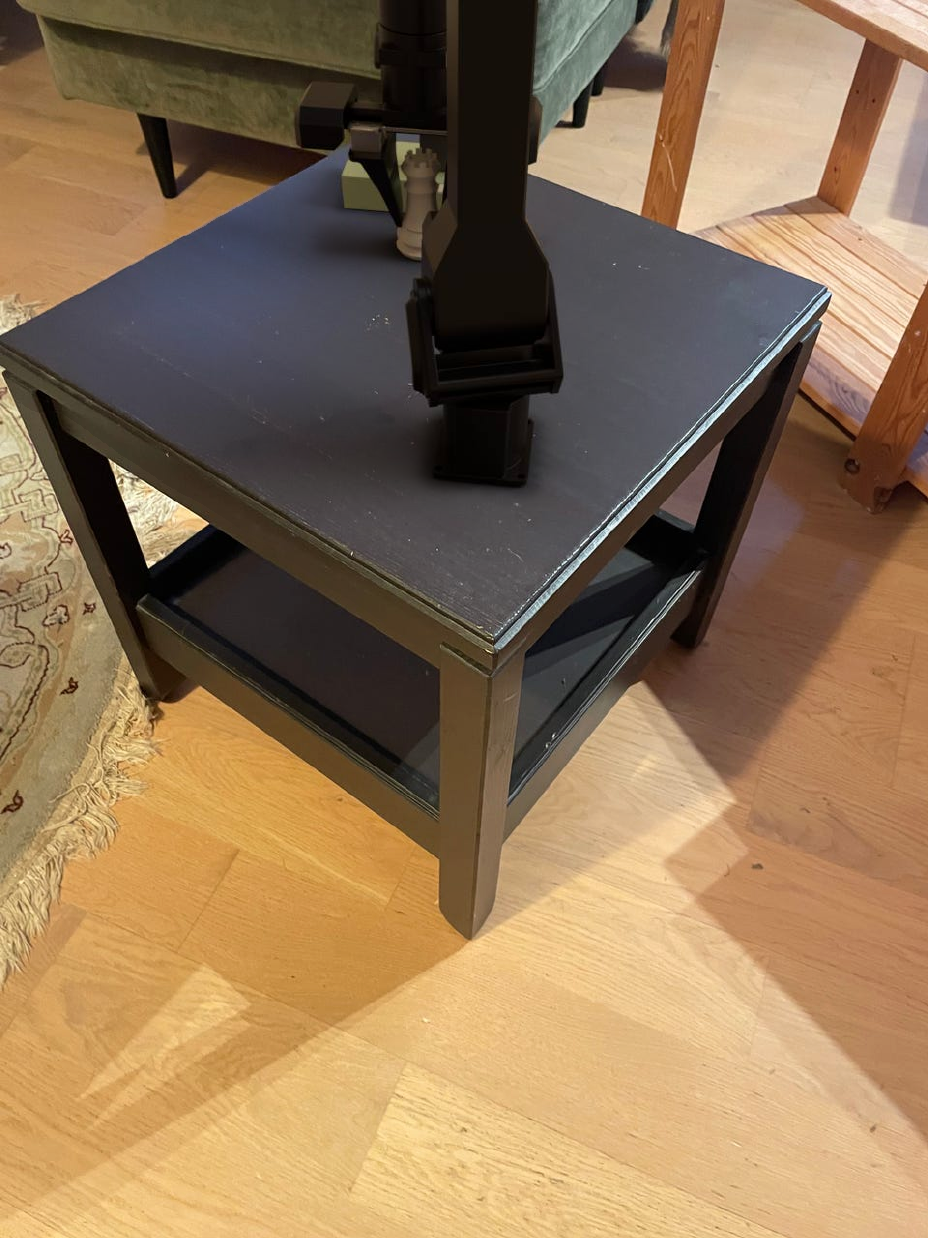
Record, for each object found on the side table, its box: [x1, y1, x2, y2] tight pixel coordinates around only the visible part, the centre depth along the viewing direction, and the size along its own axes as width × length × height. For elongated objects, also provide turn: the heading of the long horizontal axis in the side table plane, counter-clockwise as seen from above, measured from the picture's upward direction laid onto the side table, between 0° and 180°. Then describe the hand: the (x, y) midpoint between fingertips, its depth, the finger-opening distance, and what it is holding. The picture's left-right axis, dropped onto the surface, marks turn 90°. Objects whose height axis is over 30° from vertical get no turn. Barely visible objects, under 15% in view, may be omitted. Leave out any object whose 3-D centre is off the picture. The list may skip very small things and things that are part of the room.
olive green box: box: [341, 140, 445, 214], centre depth 84 cm, size 9×13×3 cm, turn 83°
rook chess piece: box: [396, 148, 441, 261], centre depth 77 cm, size 4×4×8 cm
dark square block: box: [418, 135, 447, 172], centre depth 81 cm, size 4×1×4 cm, turn 82°
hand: (422, 226), depth 78 cm, fingers closed on rook chess piece, 3 cm apart
